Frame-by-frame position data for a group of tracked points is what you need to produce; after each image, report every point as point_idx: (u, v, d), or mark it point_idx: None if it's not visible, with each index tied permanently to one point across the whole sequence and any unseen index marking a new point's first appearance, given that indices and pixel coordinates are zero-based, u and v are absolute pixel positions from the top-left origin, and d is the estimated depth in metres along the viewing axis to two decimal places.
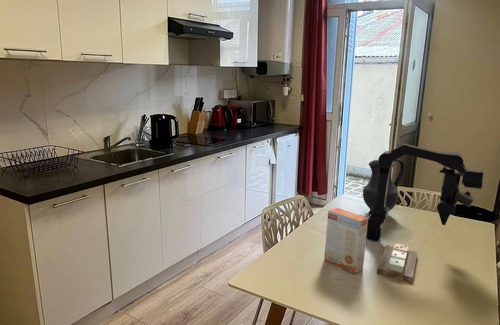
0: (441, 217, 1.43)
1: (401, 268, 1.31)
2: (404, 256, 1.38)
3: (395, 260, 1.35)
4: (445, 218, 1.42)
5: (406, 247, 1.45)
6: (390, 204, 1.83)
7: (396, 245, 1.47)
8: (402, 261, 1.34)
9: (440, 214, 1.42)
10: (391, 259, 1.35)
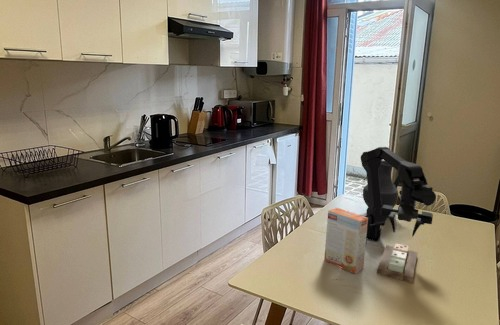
0: None
1: (401, 268, 1.31)
2: (404, 256, 1.38)
3: (395, 260, 1.35)
4: (392, 224, 1.45)
5: (406, 247, 1.45)
6: (390, 204, 1.83)
7: (396, 245, 1.47)
8: (402, 261, 1.34)
9: None
10: (391, 259, 1.35)
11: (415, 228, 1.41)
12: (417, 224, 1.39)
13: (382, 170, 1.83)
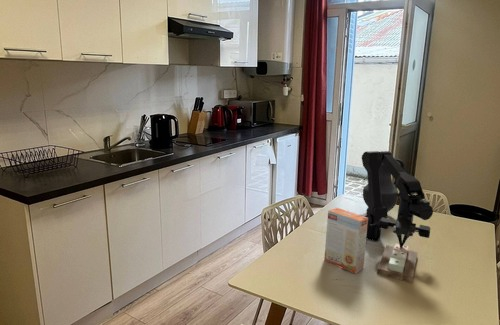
0: None
1: (401, 268, 1.31)
2: (404, 256, 1.38)
3: (395, 260, 1.35)
4: None
5: (406, 247, 1.45)
6: (390, 204, 1.83)
7: (396, 245, 1.47)
8: (402, 261, 1.34)
9: None
10: (391, 259, 1.35)
11: (404, 239, 1.43)
12: (406, 235, 1.42)
13: (382, 170, 1.83)
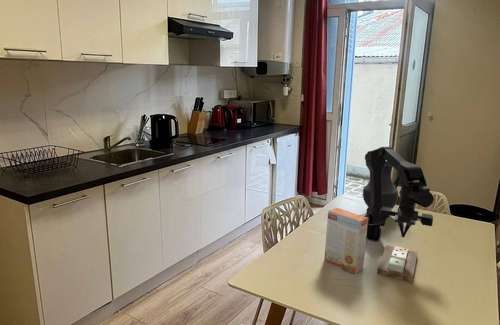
0: None
1: (401, 268, 1.31)
2: (404, 256, 1.38)
3: (395, 260, 1.35)
4: (400, 228, 1.40)
5: (406, 250, 1.46)
6: (390, 204, 1.83)
7: (396, 248, 1.47)
8: (402, 261, 1.34)
9: None
10: (391, 259, 1.35)
11: (406, 229, 1.39)
12: (408, 224, 1.37)
13: (382, 170, 1.83)
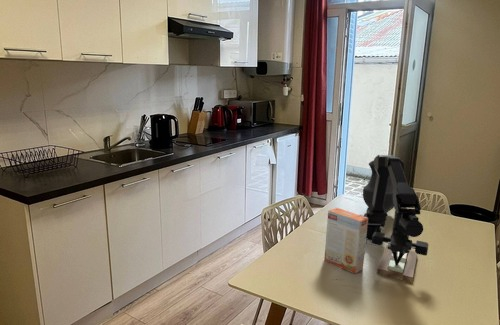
0: None
1: (401, 271, 1.31)
2: (404, 256, 1.38)
3: None
4: None
5: None
6: (390, 204, 1.83)
7: None
8: (402, 264, 1.34)
9: None
10: (391, 262, 1.36)
11: (399, 256, 1.31)
12: (401, 252, 1.30)
13: None
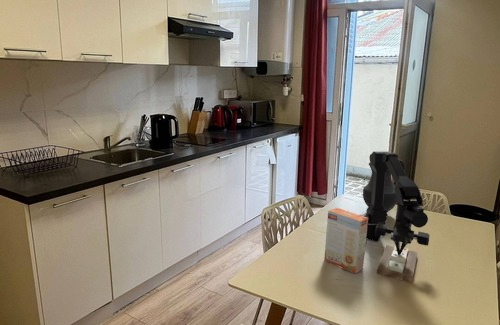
0: None
1: (401, 271, 1.31)
2: (404, 257, 1.38)
3: (395, 263, 1.35)
4: (396, 246, 1.39)
5: (406, 250, 1.46)
6: (390, 204, 1.83)
7: None
8: (402, 264, 1.34)
9: None
10: (391, 262, 1.36)
11: (402, 247, 1.37)
12: (404, 243, 1.36)
13: None
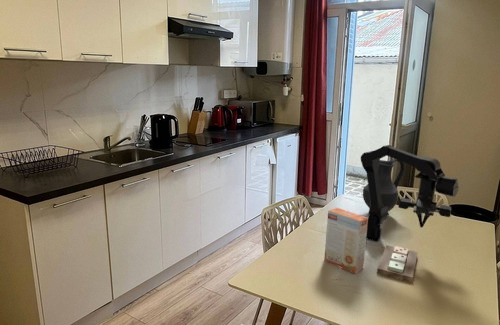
0: None
1: (401, 271, 1.31)
2: (404, 259, 1.38)
3: (395, 263, 1.35)
4: None
5: (406, 250, 1.46)
6: (390, 204, 1.83)
7: (396, 248, 1.47)
8: (402, 264, 1.34)
9: None
10: (391, 262, 1.36)
11: (424, 219, 1.44)
12: (426, 215, 1.43)
13: (382, 170, 1.83)
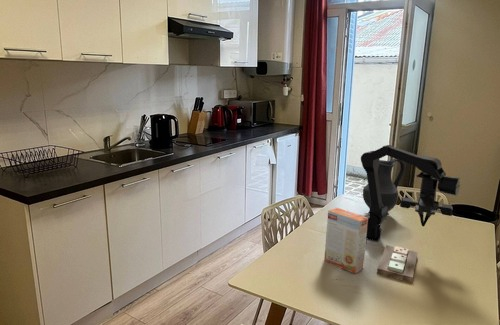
0: None
1: (401, 271, 1.31)
2: (404, 259, 1.38)
3: (395, 263, 1.35)
4: None
5: (406, 250, 1.46)
6: (390, 204, 1.83)
7: (396, 248, 1.47)
8: (402, 264, 1.34)
9: None
10: (391, 262, 1.36)
11: (426, 218, 1.45)
12: (428, 214, 1.44)
13: (382, 170, 1.83)
